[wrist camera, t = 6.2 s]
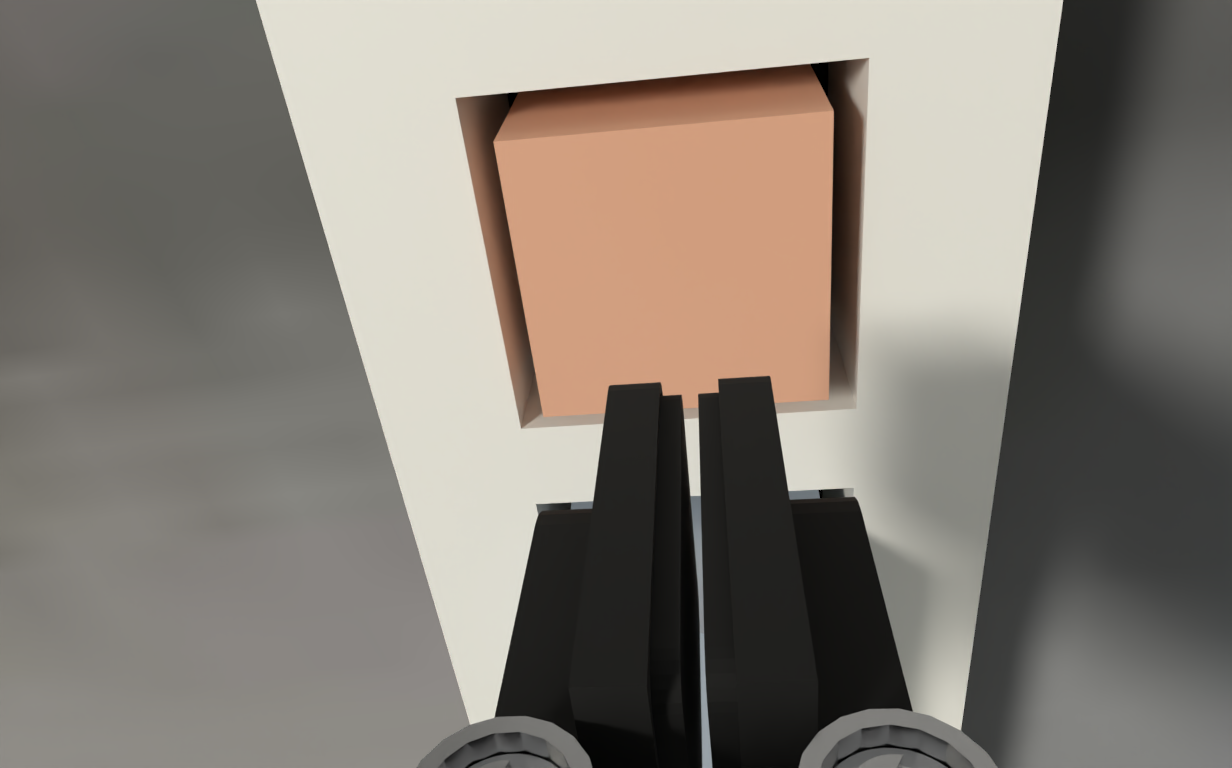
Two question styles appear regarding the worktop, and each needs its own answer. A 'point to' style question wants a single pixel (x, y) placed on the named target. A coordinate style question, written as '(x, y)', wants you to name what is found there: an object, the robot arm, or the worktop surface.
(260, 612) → the worktop surface
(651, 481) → the robot arm
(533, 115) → the orange cube
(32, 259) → the worktop surface
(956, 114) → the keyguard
